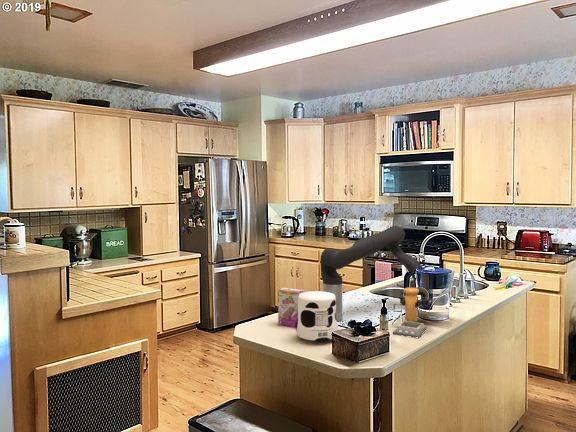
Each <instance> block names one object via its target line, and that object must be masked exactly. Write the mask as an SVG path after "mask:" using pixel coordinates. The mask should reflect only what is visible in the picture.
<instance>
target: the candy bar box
mask: <svg viewBox="0 0 576 432" xmlns="http://www.w3.org/2000/svg"><path fill="white" fill-rule="evenodd" d="M277 291H278V292H277V295H278V303H277V304H278V307H277V308H278V310H277V311H278V313H277V315H278V317H277V318H278V323H277V324H278V325H279V326H285V327H290V328H295V329H296V322H297V318H298V296H299V294H300V293H303V292H305V290H304V289H296V288H290V287H281V288H279V289H278V290H277Z"/></svg>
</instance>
